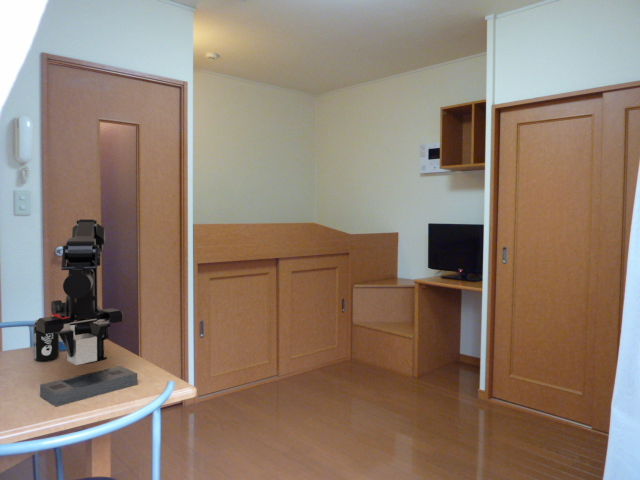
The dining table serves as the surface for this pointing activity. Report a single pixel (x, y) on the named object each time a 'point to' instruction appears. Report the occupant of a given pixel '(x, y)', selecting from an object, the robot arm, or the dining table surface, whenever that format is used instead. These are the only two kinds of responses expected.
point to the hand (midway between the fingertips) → (82, 354)
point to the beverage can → (45, 345)
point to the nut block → (83, 349)
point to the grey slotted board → (87, 385)
